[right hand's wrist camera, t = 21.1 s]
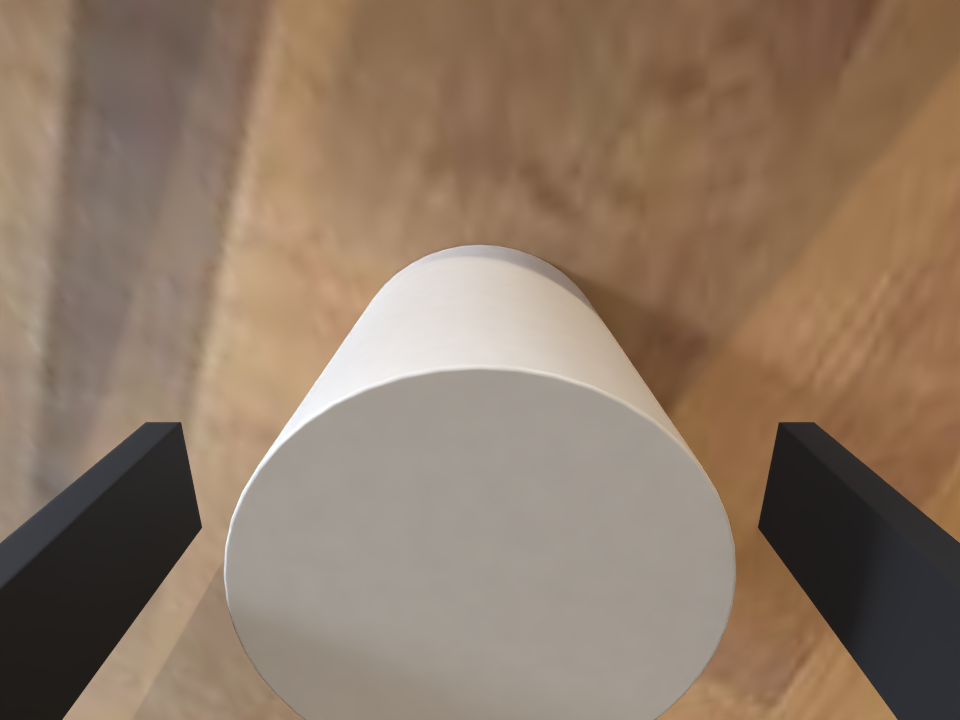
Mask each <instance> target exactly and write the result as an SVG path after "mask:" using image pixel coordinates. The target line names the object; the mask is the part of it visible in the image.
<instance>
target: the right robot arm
mask: <svg viewBox="0 0 960 720" xmlns="http://www.w3.org/2000/svg"><path fill="white" fill-rule="evenodd" d="M201 528H202V525H201V520H200V515H199V510H198V505H197V500H196V495H195V490H194V485H193V480H192V475H191V470H190V465H189V460H188V455H187V450H186V445H185V440H184V435H183V430H182V425H181V422H146V423H145V424H144V425H142V426H141V427H140V428H139V429H137V430H136V431H135V432H134V433H133V434H131V435H130V436H129V437H128V438H127V439H125V440H124V441H123V442H122V443H121V444H119V445H118V446H117V447H116V448H115V449H113V450H112V451H111V452H110V453H109V454H107V455H106V456H105V457H104V458H103V459H101V460H100V461H99V462H98V463H96V464H95V465H94V466H93V467H92V468H90V469H89V470H88V471H87V472H86V473H84V474H83V475H82V476H81V477H80V478H78V479H77V480H76V481H75V482H74V483H72V484H71V485H70V486H69V487H68V488H66V489H65V490H64V491H63V492H62V493H60V494H59V495H58V496H57V497H55V498H54V499H53V500H52V501H51V502H49V503H48V504H47V505H46V506H45V507H43V508H42V509H41V510H40V511H39V512H37V513H36V514H35V515H34V516H33V517H31V518H30V519H29V520H28V521H27V522H25V523H24V524H23V525H22V526H21V527H19V528H18V529H17V530H16V531H14V532H13V533H12V534H11V535H10V536H8V537H7V538H6V539H5V540H4V541H2V542H1V543H0V720H62V719H63V718H64V716H65V715H66V714H67V712H68V711H69V710H70V708H71V707H72V705H73V704H74V703H75V701H76V700H77V699H78V697H79V696H80V694H81V693H82V692H83V690H84V689H85V688H86V686H87V685H88V683H89V682H90V681H91V679H92V678H93V677H94V675H95V674H96V672H97V671H98V670H99V668H100V667H101V666H102V664H103V663H104V661H105V660H106V659H107V657H108V656H109V655H110V653H111V652H112V650H113V649H114V648H115V646H116V645H117V644H118V642H119V641H120V639H121V638H122V637H123V635H124V634H125V633H126V631H127V630H128V628H129V627H130V626H131V624H132V623H133V622H134V620H135V619H136V617H137V616H138V615H139V613H140V612H141V611H142V609H143V608H144V606H145V605H146V604H147V602H148V601H149V600H150V598H151V597H152V595H153V594H154V593H155V591H156V590H157V589H158V587H159V586H160V584H161V583H162V582H163V580H164V579H165V578H166V576H167V575H168V574H169V572H170V571H171V569H172V568H173V567H174V565H175V564H176V563H177V561H178V560H179V558H180V557H181V556H182V554H183V553H184V552H185V550H186V549H187V547H188V546H189V545H190V543H191V542H192V541H193V539H194V538H195V536H196V535H197V534H198V532H199V531H200V530H201ZM758 528H759V530H760V531H761V532H762V534H763V535H764V536H765V538H766V539H767V541H768V542H769V543H770V545H771V546H772V547H773V549H774V550H775V552H776V553H777V554H778V556H779V557H780V558H781V560H782V561H783V563H784V564H785V565H786V567H787V568H788V569H789V571H790V572H791V574H792V575H793V576H794V578H795V579H796V580H797V582H798V583H799V585H800V586H801V587H802V589H803V590H804V591H805V593H806V594H807V595H808V597H809V598H810V600H811V601H812V602H813V604H814V605H815V606H816V608H817V609H818V611H819V612H820V613H821V615H822V616H823V617H824V619H825V620H826V622H827V623H828V624H829V626H830V627H831V628H832V630H833V631H834V633H835V634H836V635H837V637H838V638H839V639H840V641H841V642H842V644H843V645H844V646H845V648H846V649H847V650H848V652H849V653H850V655H851V656H852V657H853V659H854V660H855V661H856V663H857V664H858V666H859V667H860V668H861V670H862V671H863V672H864V674H865V675H866V677H867V678H868V679H869V681H870V682H871V683H872V685H873V686H874V688H875V689H876V690H877V692H878V693H879V694H880V696H881V697H882V699H883V700H884V701H885V703H886V704H887V705H888V707H889V708H890V710H891V711H892V712H893V714H894V715H895V716H896V718H897V719H898V720H960V543H959V542H958V541H956V540H955V539H954V538H953V537H952V536H950V535H949V534H948V533H947V532H946V531H944V530H943V529H942V528H941V527H939V526H938V525H937V524H936V523H935V522H933V521H932V520H931V519H930V518H929V517H927V516H926V515H925V514H924V513H923V512H921V511H920V510H919V509H918V508H917V507H915V506H914V505H913V504H912V503H911V502H909V501H908V500H907V499H906V498H905V497H903V496H902V495H901V494H900V493H898V492H897V491H896V490H895V489H894V488H892V487H891V486H890V485H889V484H888V483H886V482H885V481H884V480H883V479H882V478H880V477H879V476H878V475H877V474H876V473H874V472H873V471H872V470H871V469H870V468H868V467H867V466H866V465H865V464H864V463H862V462H861V461H860V460H859V459H857V458H856V457H855V456H854V455H853V454H851V453H850V452H849V451H848V450H847V449H845V448H844V447H843V446H842V445H841V444H839V443H838V442H837V441H836V440H835V439H833V438H832V437H831V436H830V435H829V434H827V433H826V432H825V431H824V430H823V429H821V428H820V427H819V426H818V425H816V424H815V423H814V422H779V425H778V430H777V435H776V440H775V445H774V450H773V455H772V460H771V465H770V470H769V475H768V480H767V485H766V490H765V495H764V500H763V505H762V510H761V515H760V520H759V525H758Z"/></svg>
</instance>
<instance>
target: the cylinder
mask: <svg viewBox="0 0 960 720" xmlns="http://www.w3.org/2000/svg"><path fill="white" fill-rule="evenodd" d="M224 581H225V590H226V598H227V604H228V608H229V611H230V615H231V619H232V622H233V626H234V629H235V631H236V633H237V635H238V638H239V640H240V642H241V644H242V646H243V649H244V651H245V653H246V654H247V656H248V658H249V659H250V661H251V662H252V664H253V665H254V667H255V668H256V670H257V672H258V673H259V675H260V676H261V677H262V678H263V679H264V681H265V682H266V683H267V684H268V685H269V687H270V688H271V689H272V690H273V691H274V692H275V694H276V695H277V696H278V697H279V698H280V699H282V700H283V701H284V702H285V703H286V704H287V705H288V706H289V707H290V708H291V709H292V710H293V711H295V712H296V713H297V714H298V715H299V716H301V717H302V718H304V719H305V720H656V719H657V718H658V717H660V716H661V715H662V714H664V713H665V712H666V711H667V710H668V709H669V708H670V707H671V706H672V705H674V704H675V703H676V702H677V701H678V700H679V699H680V698H681V697H682V696H683V695H684V694H685V693H686V692H687V691H688V689H689V688H690V687H691V686H692V685H693V683H694V682H695V681H696V680H697V679H698V678H699V676H700V675H701V674H702V672H703V671H704V669H705V668H706V666H707V664H708V663H709V661H710V660H711V658H712V656H713V655H714V653H715V652H716V650H717V647H718V645H719V643H720V641H721V638H722V636H723V634H724V632H725V629H726V627H727V623H728V620H729V616H730V612H731V609H732V605H733V601H734V592H735V582H736V559H735V545H734V540H733V536H732V532H731V527H730V523H729V519H728V516H727V514H726V511H725V509H724V506H723V504H722V501H721V499H720V497H719V494H718V492H717V490H716V488H715V487H714V485H713V483H712V482H711V480H710V479H709V477H708V475H707V474H706V472H705V471H704V469H703V467H702V466H701V464H700V463H699V461H698V460H697V458H696V457H695V455H694V454H693V452H692V451H691V450H690V448H689V447H688V445H687V444H686V442H685V441H684V439H683V438H682V436H681V435H680V433H679V432H678V431H677V429H676V428H675V426H674V425H673V423H672V422H671V420H670V419H669V417H668V416H667V414H666V413H665V411H664V410H663V409H662V407H661V406H660V404H659V403H658V401H657V400H656V398H655V397H654V395H653V394H652V392H651V391H650V390H649V388H648V387H647V385H646V384H645V382H644V381H643V379H642V378H641V376H640V375H639V373H638V372H637V370H636V369H635V368H634V366H633V365H632V363H631V362H630V360H629V359H628V357H627V356H626V354H625V353H624V351H623V350H622V349H621V347H620V346H619V344H618V343H617V341H616V340H615V338H614V337H613V335H612V334H611V332H610V331H609V329H608V328H607V327H606V325H605V324H604V322H603V321H602V319H601V318H600V316H599V315H598V313H597V312H596V310H595V309H594V308H593V306H592V305H591V303H590V302H589V300H588V299H587V297H586V296H585V295H584V294H583V293H582V291H581V290H580V289H579V288H578V287H577V285H576V284H575V283H574V282H572V281H571V280H570V279H569V278H568V277H567V276H566V275H565V274H564V273H562V272H561V271H559V270H558V269H556V268H555V267H553V266H552V265H551V264H549V263H547V262H545V261H543V260H541V259H539V258H537V257H535V256H533V255H530V254H528V253H525V252H522V251H519V250H516V249H511V248H506V247H501V246H490V245H471V246H460V247H455V248H450V249H445V250H442V251H439V252H436V253H433V254H430V255H427V256H425V257H423V258H421V259H419V260H417V261H415V262H414V263H412V264H410V265H409V266H407V267H406V268H404V269H403V270H401V271H400V272H398V273H397V274H396V275H395V276H394V277H393V278H392V279H390V280H389V281H388V282H387V283H386V284H385V285H384V286H383V287H382V289H381V290H380V291H379V292H378V293H377V295H376V296H375V297H374V298H373V300H372V301H371V303H370V304H369V306H368V307H367V308H366V310H365V311H364V313H363V314H362V316H361V317H360V319H359V320H358V322H357V323H356V324H355V326H354V327H353V329H352V330H351V332H350V333H349V335H348V336H347V337H346V339H345V340H344V342H343V343H342V345H341V346H340V348H339V349H338V351H337V352H336V353H335V355H334V356H333V358H332V359H331V361H330V362H329V364H328V365H327V367H326V368H325V369H324V371H323V372H322V374H321V375H320V377H319V378H318V380H317V381H316V383H315V384H314V385H313V387H312V388H311V390H310V391H309V393H308V394H307V396H306V397H305V399H304V400H303V401H302V403H301V404H300V406H299V407H298V409H297V410H296V412H295V413H294V415H293V416H292V417H291V419H290V420H289V422H288V423H287V425H286V426H285V428H284V429H283V431H282V432H281V433H280V435H279V436H278V438H277V439H276V441H275V442H274V444H273V445H272V447H271V448H270V449H269V451H268V452H267V454H266V455H265V457H264V458H263V460H262V461H261V463H260V464H259V465H258V467H257V469H256V470H255V472H254V474H253V475H252V477H251V479H250V480H249V482H248V484H247V485H246V487H245V488H244V490H243V492H242V494H241V496H240V499H239V501H238V504H237V506H236V509H235V511H234V514H233V516H232V519H231V523H230V527H229V532H228V537H227V541H226V546H225V563H224Z"/></svg>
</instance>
